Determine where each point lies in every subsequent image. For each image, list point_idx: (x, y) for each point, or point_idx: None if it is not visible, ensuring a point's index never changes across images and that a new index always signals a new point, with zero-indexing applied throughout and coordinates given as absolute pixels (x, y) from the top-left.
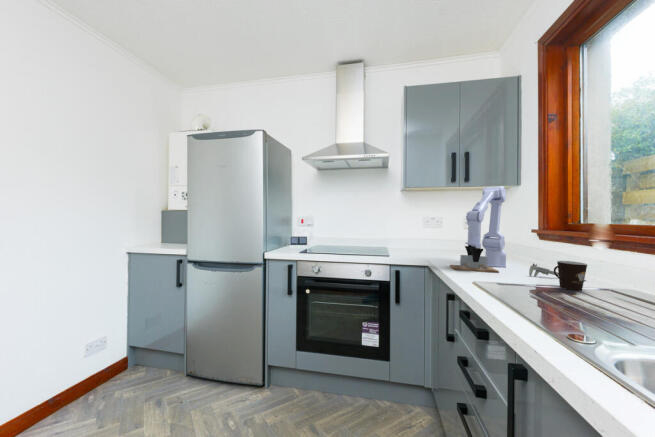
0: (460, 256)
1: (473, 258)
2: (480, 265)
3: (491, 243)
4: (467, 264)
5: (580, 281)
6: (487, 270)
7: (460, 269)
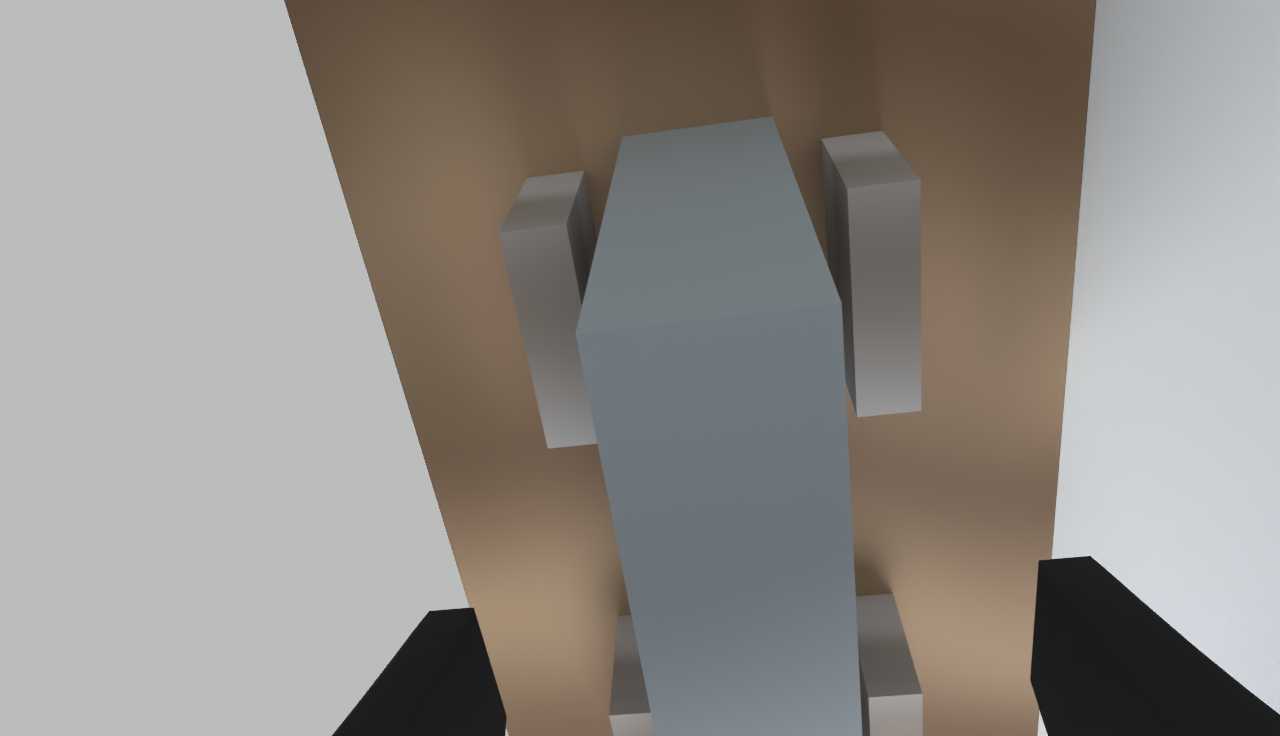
0: (822, 263)
1: (356, 710)
2: (614, 694)
3: None
4: (536, 376)
5: None
6: (509, 716)
7: (318, 70)
